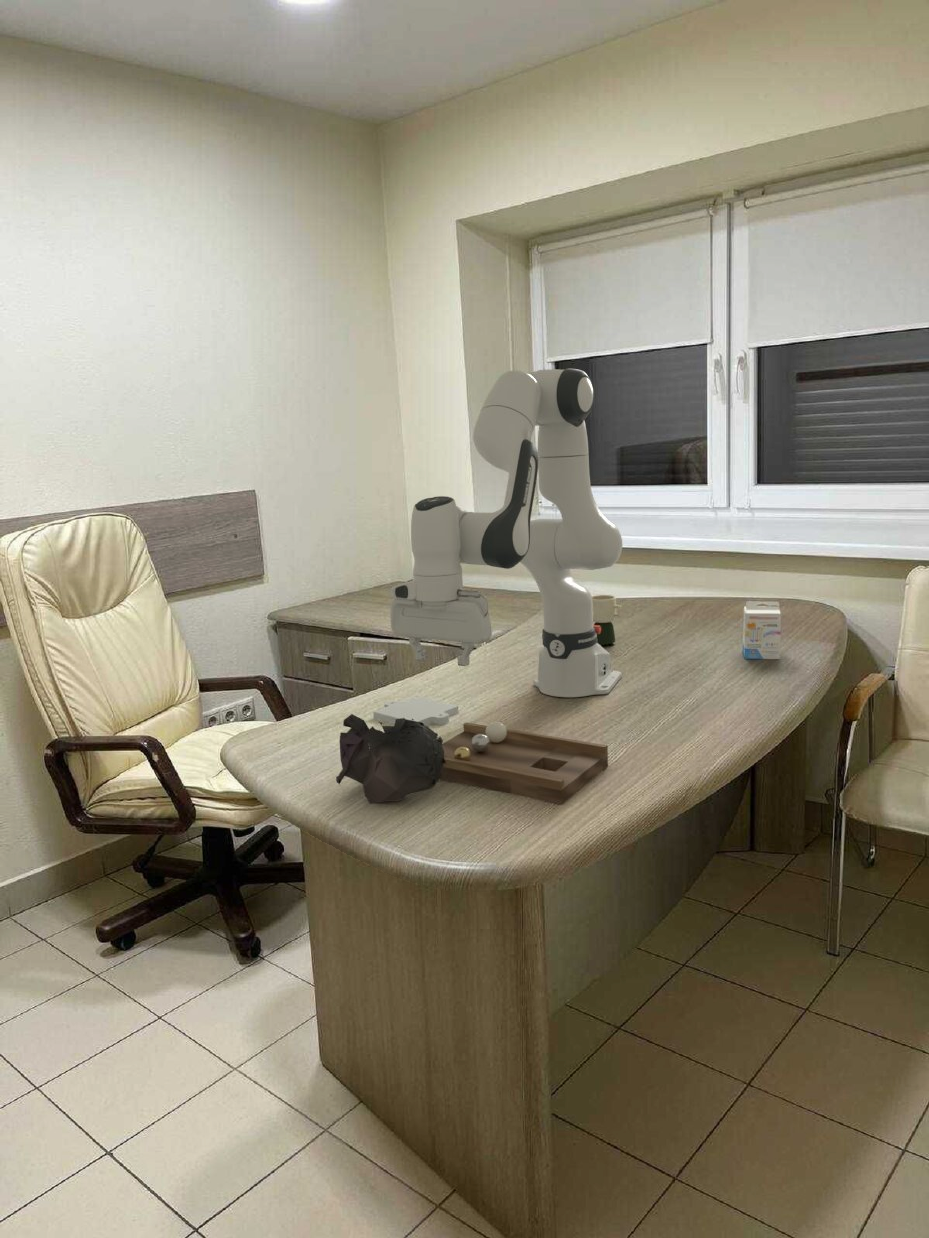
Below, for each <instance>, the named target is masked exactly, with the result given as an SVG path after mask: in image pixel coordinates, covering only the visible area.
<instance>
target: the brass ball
mask: <svg viewBox="0 0 929 1238" xmlns="http://www.w3.org/2000/svg"><path fill="white" fill-rule="evenodd" d="M454 757H455V759H459V760H464V761H469V760H470V759H471V752H470V750H469V749H468V748H466V747H459V748H457V749H456V751H455V753H454Z"/></svg>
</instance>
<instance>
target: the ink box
mask: <svg viewBox="0 0 929 1238" xmlns="http://www.w3.org/2000/svg"><path fill="white" fill-rule="evenodd" d="M745 603H746V604H745V605H744V606H743V618H742V619H743V623H742V625H743V626H742V649H741V650H742V654H743V657H744V659H745V660H780V659H781V639H782V638H781V637H782V635H781V634H782V633H781V632H782V629H781V628H782V611H781V610H780V602H779V601H756V600H755V601H750V600H748V601H747V602H745ZM761 604H763V605H766V606H763V605H762V606H759V605H761Z"/></svg>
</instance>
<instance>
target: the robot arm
mask: <svg viewBox="0 0 929 1238" xmlns="http://www.w3.org/2000/svg"><path fill="white" fill-rule="evenodd" d="M594 401H595V391H594V384H593V382H592V380H591V377H589V376H588V374H587V373H586V372H585V371H584V370H581V369H576V368H565V369H555V368H554V369H553V368H552V369H549V368H548V369H538V370H535V371H530V372H526V371H521V370H509V371H506V372H503V373H502V374H501V375H500V376H499V377H498V378H497V380H496V381H495V383H494V384H493V385H492V387H491V389H490V391H489V392H488V394H487V396H486V397H485V400H484V402H483V405H482V407H481V409H480V410H479V411H480V412H479V415H478V417H477V419H476V422H475V425H474V429H473V434H472V435H473V436H472V437H473V438H472V439H473V443H474V446H475V449H476V451H477V452H478V454H479V455H480V456H481V457H482V458H483V459H484V460H485V461H486V462H487V463H489V464H490V465H491V466H494V467H495V468H497V469H500V470H502V471H504V472H507V473H508V480H507V485H506V491H505V497H504V501H503V505H502V507H501V508H500V509H498V510H496V511H494V512H479V511H478V512H473V511H467V510H464V509H463V508H460V507H459V506H457V504H456V501H455V499H454V498H452V497H451V496H447V495H446V496H443V495H440V496H438V495H437V496H434V497H433V496H432V497H427V498H424V499H421V500H419V501H418V502H416V503H415V504H414V506H413V508H412V513H411V520H410V521H411V523H410V544H411V545H410V546H411V552H412V555H413V558H414V562H413V563H414V565H413V570H412V577H413V578H412V579H410V580H407V581H406V582H403V583H400V584H397V585H394V586H392V587H391V588H390V594H391V597H392V598H393V600H392V601H391V603H390V628H391V631H392V632H393V634H394V635H395V636H397V637H398V636H399V637H408V642H409V645H410V646H411V648H412V650H413V652H414V656H415V657H414V660H415V661H418V662H420V661H421V662H424V661H427V659H428V655H427V654H428V651H427V650H426V649H424V648H423V646H422V644H421V641H422V639H428V640H436V641H446V642H454V643H455V642H456V643H461V649H463V651H462V654H461V655H458V656H457V657H456V658H457V659H456V660H457V666H459V667H468V666H469V665H470V663H471V662H470V655H471V654H472V652H473V651H474V648H475V645H481V644H484V643H486V642H488V641H489V640H490V639H491V637H492V636H493V632H492V631H493V630H492V629H493V628H492V624H491V617H490V609H489V608H490V607H489V606H490V605H489V600H488V598H487V596H485V594H483V593H482V591H479V590H473V591H472V590H468V589H467V590H466V589H464V588H463V587H464V585H463V584H464V583H463V569H462V565H461V564H466V565H474V566H476V565H477V566H489V567H493V568H500V569H506V570H509V569H512V568H514V567H515V566H517V565H518V564H519V563H520V564H522V566H524V567H525V568H526V569H527V570H528V572H529V573H530V574H531V575H532V577H533V580H534V581H535V583H536V585H537V588H538V590H539V593H540V598H541V603H542V604H541V605H542V614H543V628H542V633H541V640H542V646H543V648H542V649H540V650H539V652H538V662H537V663H538V664H537V665H538V666H537V678H535V679H534V680H533V685H534V686H535V687H537V688H538V690H539V691H540V692H541V693H542V694H545V695H547V696H550V697H551V696H552V697H557V698H558V697H560V698H580V697H587V696H595V695H607V694H609V693H610V692H611V691H612V689H613V688H614V687H615V686H616V684H617V683H618V682H619V680H620V679H621V678H622V672H621V671H619V670H615V669H612V659H611V654H610V653H609V652H608V651H607V650H606V648H604V647H602V645H599V644H598V643H597V642H598V640H597V634H600V633H601V627H600V625H597V626H595V625H594V622H593V605H592V596H593V595H591V593H590V591H589V589H587V588H586V587H585V586H583V585H582V584H580V583H579V582H578V581H577V580H576V579H575V578H574V576H573V575H572V572H571V570H586V571H587V570H589V571H592V570H593V571H594V570H601V569H606V568H610V567H612V566H614V565H615V563H617V562H618V560H619V558H620V556H621V554H622V551H623V538H622V534H621V532H620V530H619V528H617V526H616V525H615V524H614V523H613V522H611V521H610V520H609V519H608V518H607V517H606V516H605V515H604V514H603V513H602V510H600V508H599V506H598V503H597V502H596V501H595V497H594V495H593V492H592V486H591V476H590V461H589V460H590V459H589V458H590V457H589V455H590V454H589V440H588V434H587V433H588V431H587V428H586V427H587V426H586V422H585V419H586V418H587V417H588V416H589V414H591V411H592V408H593V405H594V403H595V402H594ZM536 426H538V432H537V447H536V445H535V444H534V443H533V442H532V436H533V433H534V430H535V427H536ZM537 480H538V481H537ZM537 482H538V490H539V492H540V494H541V496H542V497H543V498H544V499H546V500H547V501H549V502H551V503H552V504H553V505H554V506H555V507H557V508H556V509H558V511H559V513H560V514H561V518H537V519H532V511H533V505H534V501H535V500H534V498H535V493H536V486H537ZM531 519H532V520H531Z"/></svg>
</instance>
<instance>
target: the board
mask: <svg viewBox="0 0 929 1238" xmlns="http://www.w3.org/2000/svg"><path fill="white" fill-rule="evenodd" d="M462 726H463V731H461V732H460V733H459V734H457V735H455V736H453V737H452V738H450V739H448V740H446V741H445V742H444V741H443V742H442V747H443V750H444V760H445V762H446V763H444V765H443V770H442V774H441V779H440V781H446V782H450V783H455V784H461V785H464V786H465V785H466V786H470V787H474V788H475V787H476V788H479V789H484V790H488V791H489V790H490V791H493V792H499V793H504V794H508V795H514V796H517V797H518V796H519V797H524V798H528V799H534V800H538V801H544V802H548V803H552V804H553V803H554V804H558V805H561V806H562V805H563V804H565V802H567V801H568V800H569V799H570V798H571V797H573V796H574V795H575V794H576V793H577V792H579V791H580V790H582V788H584V787H585V786H586V785H588V784H589V783H590V782H591V781H593V779H595V778H596V777H597V776H599V774H601V773H602V772H603V771H605V770H606V769H607V768H608V767H609V760H608V759H609V758H608V757H609V755H608V753H609V751H608V745H607V744H602V743H597V742H596V743H595V742H589V741H582V740H576V739H572V738H571V739H570V738H564V737H560V736H559V737H558V736H552V735H547V734H546V735H545V734H540V733H533V732H527V731H521V730H515V729H509V728H506V730H507V735H506V737H505V739H504V740H503V741H502V742H499V743H493V742H491V741H490V746H489V748H488V750H487V751H485V752H482V753H479V752H476V751H475V750H474V749H473V748H472V745H471V741H472V739H473V737H474V736H475V735H477V734H484V735H486V733H485V731H486V728H487V726H488V725H483V724H477V723H471V722H464V723H463V724H462ZM459 747H466V748H468V749H469V750H470V752H471V759H470V760H469V761H464V760H459V759H455V757H454V753H455V751H456V749H457V748H459ZM445 756H446V757H445ZM444 774H445V775H444Z"/></svg>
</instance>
